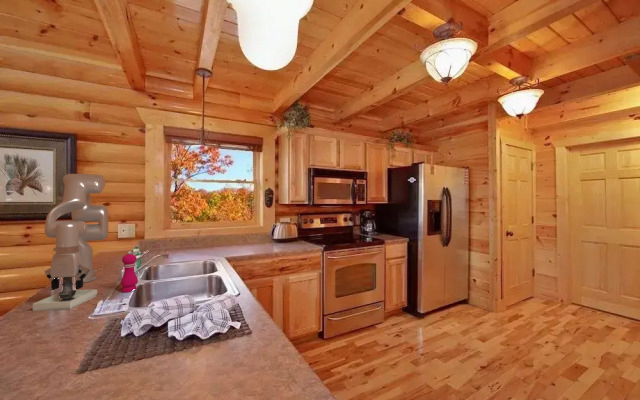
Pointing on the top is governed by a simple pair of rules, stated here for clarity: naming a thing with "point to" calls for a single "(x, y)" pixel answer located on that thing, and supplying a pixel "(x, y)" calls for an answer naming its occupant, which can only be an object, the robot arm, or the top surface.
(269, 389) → the top surface
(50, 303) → the tray
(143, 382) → the top surface
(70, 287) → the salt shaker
